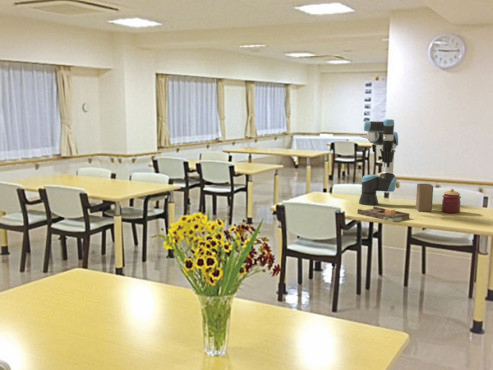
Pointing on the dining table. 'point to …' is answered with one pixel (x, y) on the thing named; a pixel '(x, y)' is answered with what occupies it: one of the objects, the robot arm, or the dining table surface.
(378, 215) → the trap tray
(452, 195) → the canister
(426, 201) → the block
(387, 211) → the terracotta cube
